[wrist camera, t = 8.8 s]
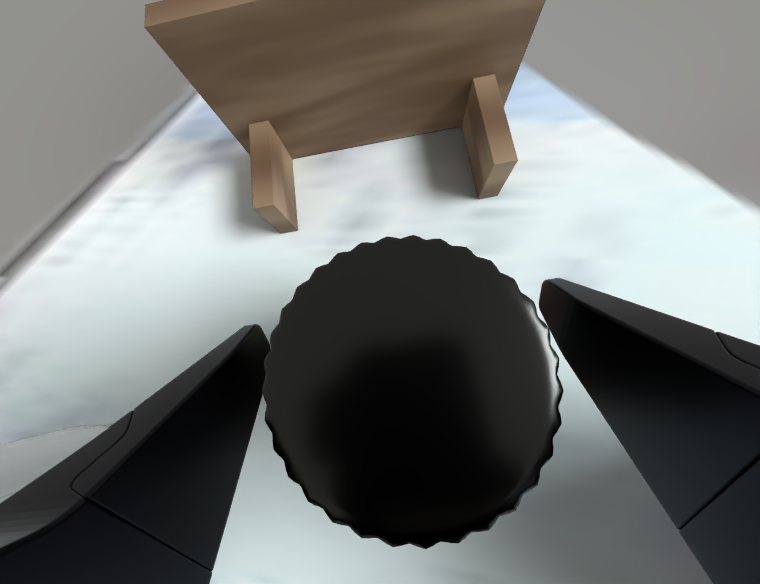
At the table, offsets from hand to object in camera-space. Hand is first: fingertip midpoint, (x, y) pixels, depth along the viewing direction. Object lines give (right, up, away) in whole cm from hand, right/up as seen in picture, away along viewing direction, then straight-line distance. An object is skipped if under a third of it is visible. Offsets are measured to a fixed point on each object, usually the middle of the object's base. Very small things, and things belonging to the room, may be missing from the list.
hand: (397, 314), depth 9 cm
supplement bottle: (+1, -3, +8) cm, 8 cm away
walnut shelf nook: (-1, +9, +11) cm, 14 cm away
